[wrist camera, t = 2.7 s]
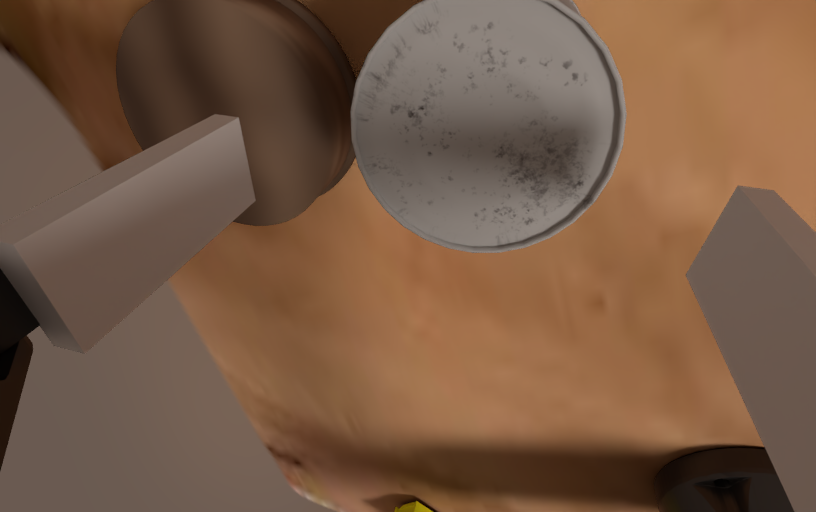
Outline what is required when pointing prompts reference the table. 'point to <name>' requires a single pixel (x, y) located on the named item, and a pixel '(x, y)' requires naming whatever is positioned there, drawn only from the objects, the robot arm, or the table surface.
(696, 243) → the table surface
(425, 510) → the yellow toy chassis
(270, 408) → the table surface
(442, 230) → the speckled grey cylinder
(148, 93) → the plinth
